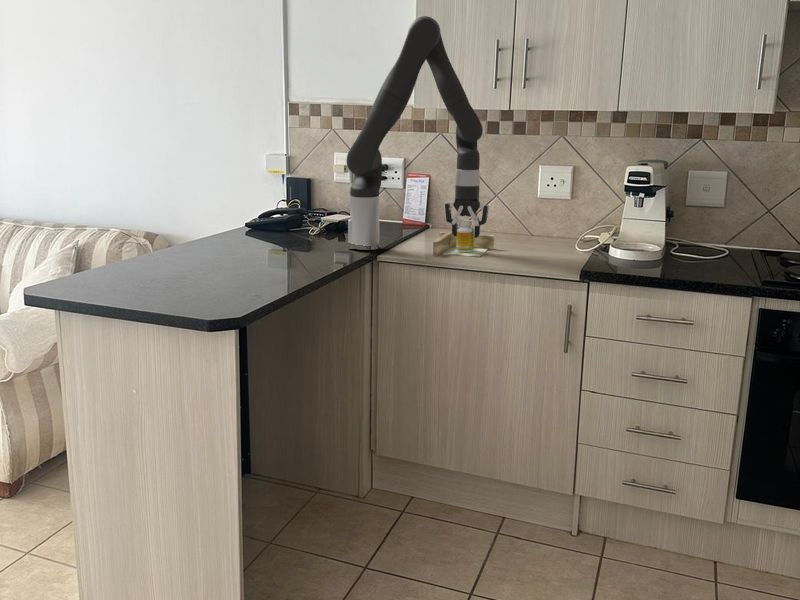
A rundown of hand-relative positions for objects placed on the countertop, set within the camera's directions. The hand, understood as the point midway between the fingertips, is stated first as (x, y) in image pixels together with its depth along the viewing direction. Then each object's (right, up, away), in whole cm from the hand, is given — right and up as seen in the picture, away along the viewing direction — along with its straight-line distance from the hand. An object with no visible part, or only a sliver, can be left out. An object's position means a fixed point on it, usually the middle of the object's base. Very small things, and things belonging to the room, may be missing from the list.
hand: (465, 236), depth 252 cm
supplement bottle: (0, -5, +1) cm, 5 cm away
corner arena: (-2, -5, +1) cm, 5 cm away
